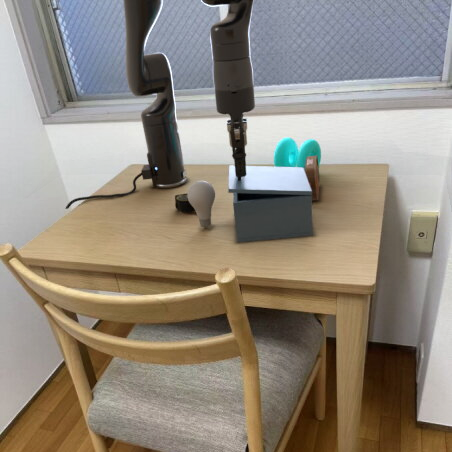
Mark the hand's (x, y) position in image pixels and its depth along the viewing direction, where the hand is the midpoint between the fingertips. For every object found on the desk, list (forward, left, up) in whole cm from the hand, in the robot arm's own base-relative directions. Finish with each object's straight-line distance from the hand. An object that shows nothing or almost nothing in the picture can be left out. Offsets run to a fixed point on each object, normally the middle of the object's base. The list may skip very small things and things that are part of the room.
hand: (241, 170), depth 100 cm
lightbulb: (-9, +1, -13) cm, 16 cm away
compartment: (+6, 0, -13) cm, 14 cm away
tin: (+17, +15, -13) cm, 26 cm away
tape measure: (-14, +13, -13) cm, 24 cm away
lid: (+5, 0, -3) cm, 6 cm away
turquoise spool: (+15, +29, -13) cm, 36 cm away
